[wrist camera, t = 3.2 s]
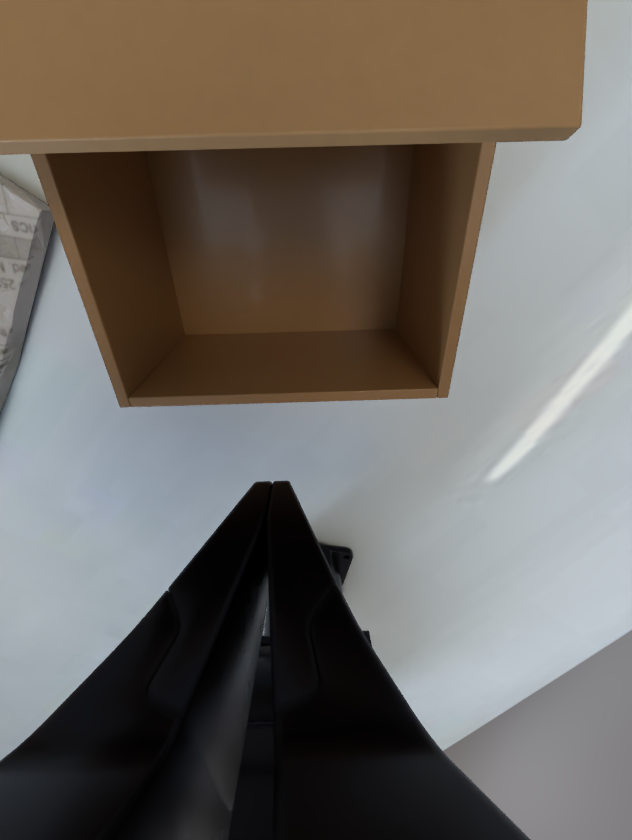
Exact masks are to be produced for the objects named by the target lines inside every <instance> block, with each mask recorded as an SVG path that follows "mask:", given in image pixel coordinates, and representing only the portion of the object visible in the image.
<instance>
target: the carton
mask: <svg viewBox="0 0 632 840" xmlns="http://www.w3.org/2000/svg"><path fill="white" fill-rule="evenodd" d="M495 148H496V142H483V143H443V144H404V145H364V146H324V147H285V148H245V149H205V150H166V151H126V152H86V153H47V154H31V157H32V160H33V162H34V165H35V168H36V171H37V174H38V177H39V179H40V182H41V185H42V188H43V191H44V194H45V196H46V199H47V202H48V205H49V208H50V211H51V213H52V216H53V219H54V222H55V225H56V228H57V230H58V233H59V236H60V239H61V242H62V244H63V247H64V250H65V253H66V256H67V259H68V261H69V264H70V267H71V270H72V273H73V276H74V278H75V281H76V284H77V287H78V290H79V293H80V295H81V298H82V301H83V304H84V307H85V309H86V312H87V315H88V318H89V321H90V324H91V326H92V329H93V332H94V335H95V338H96V341H97V343H98V346H99V349H100V352H101V355H102V358H103V360H104V363H105V366H106V369H107V372H108V375H109V377H110V380H111V383H112V386H113V389H114V391H115V394H116V397H117V400H118V403H119V406H120V407H151V406H184V405H218V404H251V403H284V402H317V401H351V400H384V399H417V398H436V397H437V398H447V397H448V393H449V388H450V383H451V377H452V372H453V367H454V362H455V356H456V351H457V346H458V341H459V336H460V330H461V325H462V320H463V315H464V309H465V304H466V299H467V294H468V289H469V283H470V278H471V273H472V268H473V262H474V257H475V252H476V247H477V242H478V236H479V231H480V226H481V221H482V215H483V210H484V205H485V200H486V195H487V189H488V184H489V179H490V174H491V168H492V163H493V158H494V153H495Z"/></svg>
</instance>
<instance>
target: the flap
mask: <svg viewBox="0 0 632 840" xmlns="http://www.w3.org/2000/svg"><path fill="white" fill-rule="evenodd" d="M586 19H587V0H0V155H7V154H47V153H86V152H126V151H166V150H205V149H245V148H285V147H324V146H364V145H404V144H443V143H483V142H523V141H562V140H567V139H568V138H569V137H570V136H571V135H572V134H573V133H575V132H576V131H577V130H578V129H579V128H580V126H581V121H582V101H583V80H584V60H585V40H586Z"/></svg>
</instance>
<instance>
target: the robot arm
mask: <svg viewBox="0 0 632 840" xmlns="http://www.w3.org/2000/svg"><path fill="white" fill-rule="evenodd" d="M352 559H353V553H352V550H350V549H346V548H337V547H328V546H320V545H319V543H318V541H317V539H316V537H315V535H314V532H313V530H312V528H311V526H310V524H309V522H308V520H307V518H306V515H305V513H304V511H303V509H302V507H301V505H300V503H299V501H298V498H297V496H296V494H295V492H294V490H293V488H292V486H291V484H290V482H289V481H274V482H273V484H272V482H270V481H262V482H255V483H254V484H253V485H252V487H251V488H250V489H249V490H248V492H247V493H246V494H245V495H244V496H243V498H242V499H241V500H240V501H239V503H238V504H237V505H236V506H235V507H234V509H233V510H232V511H231V512H230V514H229V515H228V516H227V517H226V518H225V520H224V521H223V522H222V523H221V525H220V526H219V527H218V528H217V529H216V531H215V532H214V533H213V534H212V535H211V537H210V538H209V539H208V540H207V542H206V543H205V544H204V545H203V546H202V548H201V549H200V550H199V551H198V553H197V554H196V555H195V556H194V557H193V559H192V560H191V561H190V562H189V564H188V565H187V566H186V567H185V568H184V570H183V571H182V572H181V573H180V575H179V576H178V577H177V578H176V579H175V581H174V582H173V583H172V584H171V586H170V587H169V591H165V593H164V594H163V595H162V596H161V598H160V599H159V600H158V601H157V602H156V604H155V605H154V606H153V607H152V608H151V610H150V611H149V612H148V613H147V614H146V615H145V617H144V618H143V619H142V620H141V621H140V622H139V624H138V625H137V626H136V627H135V628H134V629H133V630H132V632H131V633H130V634H129V635H128V636H127V637H126V638H125V639H124V640H123V641H122V642H121V643H120V644H119V645H118V646H117V648H116V649H115V650H114V651H113V652H112V653H111V654H110V655H109V656H108V657H107V658H106V659H105V660H104V661H103V662H102V663H101V664H100V665H99V666H98V667H97V668H96V669H95V670H94V671H93V673H92V674H91V675H90V676H89V677H88V678H87V679H86V680H85V681H84V682H83V683H82V684H81V685H80V686H79V687H78V688H77V689H76V690H75V691H74V692H73V693H72V694H71V695H70V696H69V697H68V698H67V699H66V700H65V701H64V702H63V703H62V704H61V705H60V706H59V707H58V708H57V709H56V710H55V712H54V713H53V714H52V715H51V716H50V717H49V718H48V719H47V720H46V721H45V722H44V723H43V724H42V725H41V726H40V727H39V728H38V729H37V730H36V731H35V732H34V733H33V734H32V735H31V736H29V737H28V738H27V739H26V740H25V741H24V742H23V743H21V744H20V745H19V746H18V747H17V748H16V749H15V750H13V751H12V752H11V753H10V754H8V755H7V756H6V757H4V758H3V759H2V760H1V761H0V840H530V839H529V838H528V837H527V836H526V835H525V834H524V833H523V832H522V831H521V830H520V829H519V828H518V827H517V826H516V825H515V824H514V823H513V822H512V821H511V820H510V819H509V818H508V817H507V816H506V815H505V814H504V813H503V812H502V811H501V810H500V809H499V808H498V807H497V806H496V805H495V804H494V803H493V802H492V801H491V800H490V799H489V798H488V797H487V796H486V795H485V794H484V793H483V792H482V791H481V790H480V789H479V788H478V787H477V786H476V785H475V784H474V783H473V782H472V781H471V780H470V779H469V778H468V777H467V776H466V775H465V774H464V773H463V772H462V771H461V770H460V769H459V768H458V767H457V766H456V765H455V764H454V763H453V762H452V761H451V760H450V759H449V758H448V757H447V756H446V754H445V753H444V752H443V751H442V750H441V749H440V748H439V746H438V745H437V744H436V743H435V741H434V740H433V739H432V738H431V736H430V735H429V734H428V732H427V731H426V730H425V728H424V727H423V725H422V724H421V723H420V721H419V720H418V718H417V717H416V715H415V714H414V712H413V711H412V709H411V708H410V706H409V705H408V703H407V701H406V700H405V698H404V697H403V695H402V694H401V692H400V690H399V689H398V687H397V686H396V684H395V683H394V681H393V680H392V678H391V676H390V675H389V673H388V672H387V670H386V669H385V667H384V666H383V664H382V662H381V661H380V659H379V658H378V656H377V655H376V653H375V651H374V650H373V648H372V645H371V640H370V635H369V631H362V630H361V628H360V627H359V625H358V623H357V621H356V620H355V618H354V616H353V614H352V612H351V610H350V608H349V606H348V604H347V602H346V600H345V598H344V596H343V593H342V586H343V583H344V580H345V577H346V575H347V572H348V569H349V567H350V564H351V561H352ZM266 609H267V612H266ZM265 615H266V622H265V632H264V636H262V632H263V627H264V621H265Z"/></svg>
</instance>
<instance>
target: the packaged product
mask: <svg viewBox="0 0 632 840" xmlns="http://www.w3.org/2000/svg"><path fill="white" fill-rule="evenodd" d="M53 223H54V219H53V216H52V213H51V211H50V208H49V206H48V205H46V204H45V203H43V202H42V201H40V200H38V199H37V198H35V197H34V196H32V195H31V194H29V193H28V192H26V191H25V190H23V189H22V188H20V187H18V186H17V185H15V184H14V183H12V182H11V181H9V180H8V179H6V178H5V177H3V176H2V175H0V412H1V410H2V407H3V405H4V402H5V399H6V397H7V394H8V391H9V389H10V386H11V383H12V380H13V378H14V375H15V372H16V370H17V367H18V364H19V360H20V356H21V351H22V347H23V342H24V338H25V334H26V329H27V325H28V321H29V317H30V313H31V309H32V305H33V301H34V298H35V294H36V290H37V286H38V282H39V278H40V274H41V270H42V266H43V262H44V258H45V254H46V250H47V246H48V242H49V238H50V234H51V230H52V227H53Z"/></svg>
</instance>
